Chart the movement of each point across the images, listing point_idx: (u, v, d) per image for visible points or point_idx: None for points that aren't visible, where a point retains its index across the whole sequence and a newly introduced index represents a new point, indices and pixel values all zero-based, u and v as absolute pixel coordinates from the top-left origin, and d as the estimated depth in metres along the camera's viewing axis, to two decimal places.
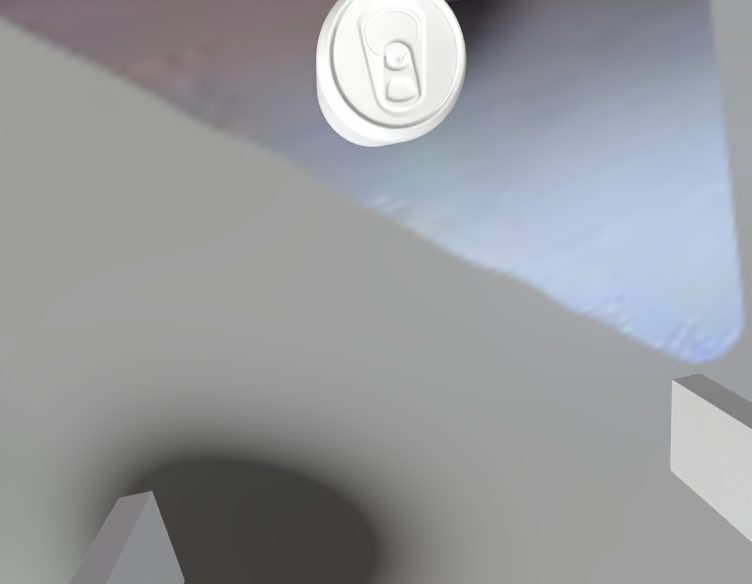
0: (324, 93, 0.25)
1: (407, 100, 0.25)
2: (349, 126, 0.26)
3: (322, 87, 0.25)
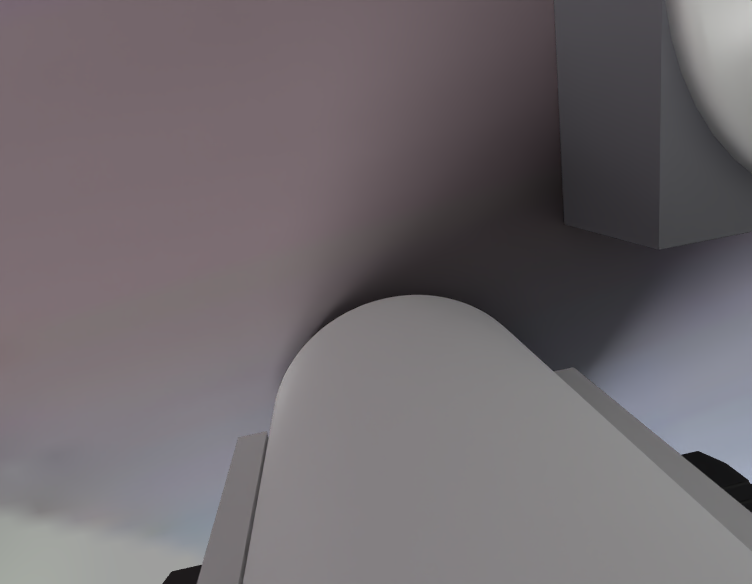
0: None
1: None
2: None
3: None
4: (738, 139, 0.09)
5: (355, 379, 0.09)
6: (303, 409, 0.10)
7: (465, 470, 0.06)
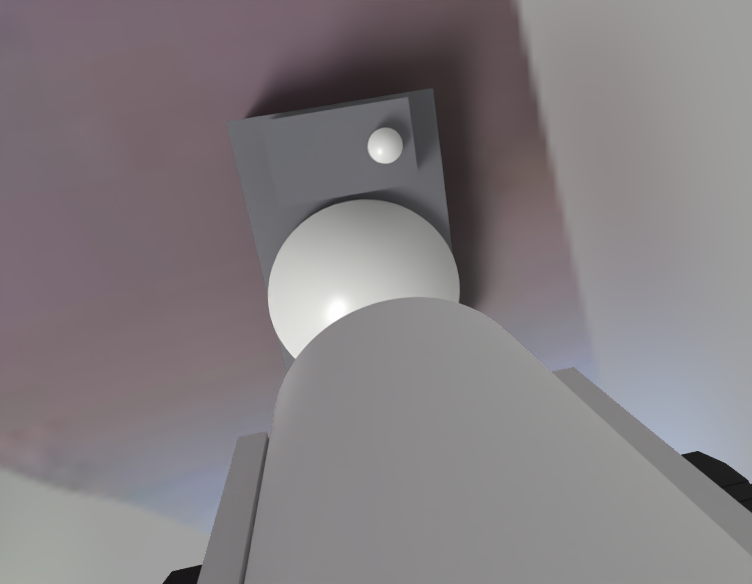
0: None
1: None
2: None
3: None
4: None
5: (355, 382, 0.09)
6: (304, 412, 0.10)
7: (465, 473, 0.06)
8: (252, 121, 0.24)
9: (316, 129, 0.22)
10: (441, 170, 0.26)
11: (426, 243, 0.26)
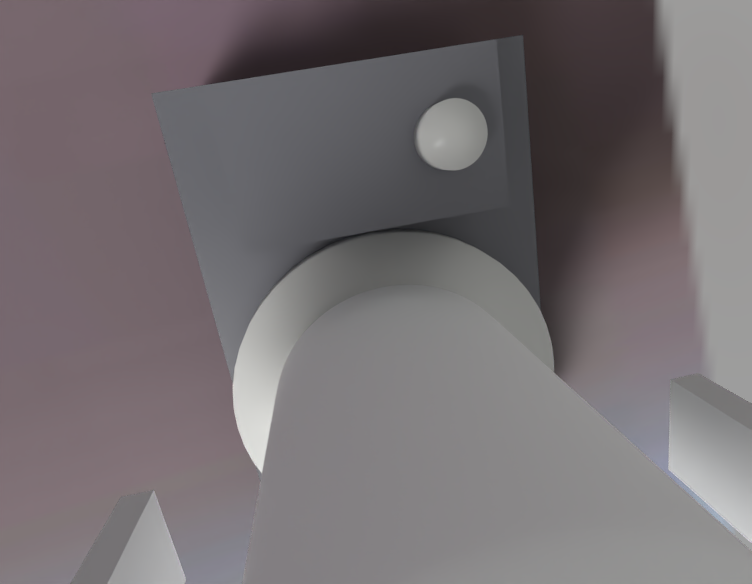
0: None
1: None
2: None
3: None
4: None
5: (349, 356, 0.10)
6: (303, 384, 0.11)
7: (438, 420, 0.07)
8: (200, 93, 0.14)
9: (315, 103, 0.11)
10: (530, 180, 0.15)
11: (503, 304, 0.16)
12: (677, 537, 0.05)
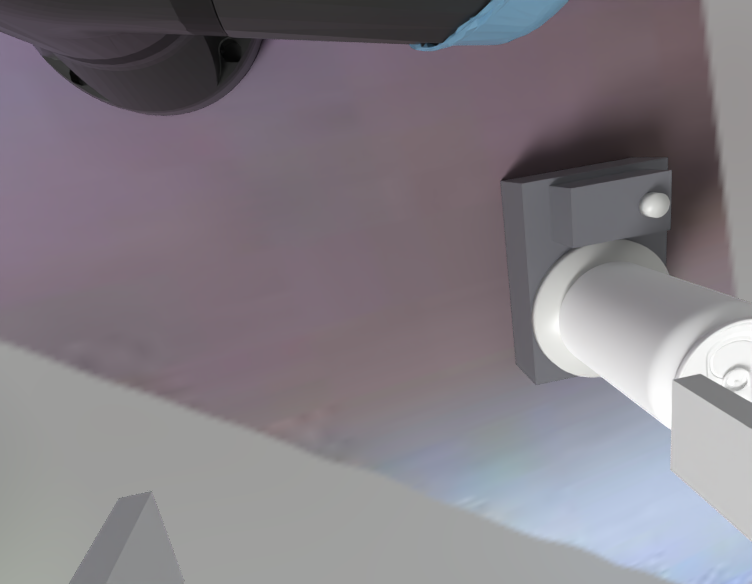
0: (652, 402, 0.26)
1: None
2: (669, 428, 0.26)
3: (652, 398, 0.25)
4: (552, 361, 0.37)
5: (627, 282, 0.30)
6: (607, 293, 0.30)
7: (684, 290, 0.27)
8: (539, 183, 0.33)
9: (606, 193, 0.31)
10: None
11: None
12: None
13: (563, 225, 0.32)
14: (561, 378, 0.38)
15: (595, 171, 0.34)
